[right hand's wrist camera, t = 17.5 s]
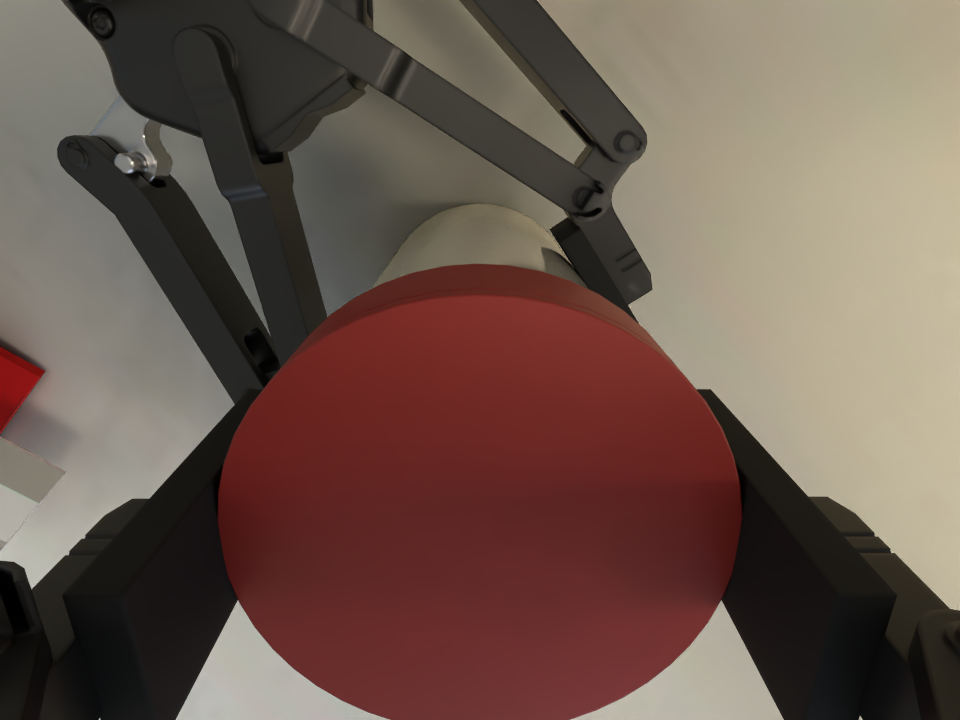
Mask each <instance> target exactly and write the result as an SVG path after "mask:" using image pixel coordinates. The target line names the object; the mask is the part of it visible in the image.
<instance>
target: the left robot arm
mask: <svg viewBox="0 0 960 720" xmlns="http://www.w3.org/2000/svg"><path fill="white" fill-rule="evenodd" d="M459 1H460V2H461V3H462V4H463V5H464V6H465V7H466V9H467V10H468V11H469V12H470V13H471V14H472V15H473V16H474V18H475V19H476V20H477V21H478V22H479V23H480V24H481V26H482V27H483V28H484V29H485V30H486V31H487V32H488V34H489V35H490V36H491V37H492V38H493V39H494V40H495V42H496V43H497V44H498V45H499V46H500V47H501V48H502V50H503V51H504V52H505V53H506V54H507V55H508V56H509V58H510V59H511V60H512V61H513V62H514V63H515V64H516V66H517V67H518V68H519V69H520V70H521V71H522V72H523V74H524V75H525V76H526V77H527V78H528V79H529V80H530V82H531V83H532V84H533V85H534V86H535V87H536V88H537V90H538V91H539V92H540V93H541V94H542V95H543V96H544V98H545V99H546V100H547V101H548V102H549V103H550V104H551V106H552V107H553V108H554V109H555V110H556V111H557V112H558V113H559V115H560V116H561V117H562V118H563V119H564V120H565V121H566V123H567V124H568V125H569V126H570V127H571V128H572V129H573V131H574V132H575V133H576V134H577V135H578V136H579V137H580V139H581V140H582V141H583V142H584V143H585V144H586V145H587V146H586V147H585V149H584V150H583V152H582V153H581V154H580V156H579V157H578V158H577V160H576V161H575V162H574V164H571V163H570V162H568V161H567V160H565V159H564V158H562V157H561V156H559V155H558V154H556V153H555V152H553V151H552V150H550V149H549V148H547V147H546V146H544V145H543V144H541V143H540V142H538V141H537V140H535V139H534V138H532V137H531V136H529V135H528V134H526V133H525V132H523V131H522V130H520V129H519V128H517V127H516V126H514V125H513V124H511V123H510V122H508V121H507V120H505V119H504V118H502V117H501V116H499V115H498V114H496V113H495V112H493V111H492V110H490V109H489V108H487V107H485V106H484V105H482V104H481V103H479V102H478V101H476V100H475V99H473V98H472V97H470V96H469V95H467V94H466V93H464V92H463V91H461V90H460V89H458V88H457V87H455V86H454V85H452V84H451V83H449V82H448V81H446V80H445V79H443V78H442V77H440V76H439V75H437V74H436V73H434V72H433V71H431V70H430V69H428V68H427V67H425V66H424V65H422V64H421V63H419V62H418V61H416V60H415V59H413V58H412V57H411V56H409V55H408V54H407V53H405V52H404V51H402V50H401V49H400V48H398V47H397V46H395V45H394V44H392V43H391V42H389V41H388V40H386V39H385V38H383V37H382V36H380V35H379V34H377V33H376V32H374V31H373V2H372V0H62V2H63V3H64V4H65V5H66V6H67V8H68V9H69V10H70V11H71V12H72V13H73V14H74V15H75V17H76V18H77V19H78V20H79V21H80V22H81V23H82V24H83V25H84V26H85V27H86V28H87V30H88V31H89V32H90V33H91V34H92V35H93V36H94V37H95V39H96V40H97V41H98V43H99V44H100V46H101V47H102V49H103V51H104V53H105V55H106V58H107V60H108V62H109V65H110V68H111V72H112V76H113V79H114V83H115V86H116V88H117V90H118V92H119V94H120V96H119V97H118V98H117V100H116V101H115V102H114V103H113V105H112V106H111V107H110V109H109V110H108V111H107V113H106V114H105V115H104V116H103V118H102V119H101V120H100V122H99V123H98V124H97V125H96V127H95V128H94V129H93V131H92V132H91V133H90V134H89V135H74V136H68V137H65V138H64V139H63V140H62V141H60V144H59V146H58V148H57V155H58V159H59V162H60V164H61V166H62V167H63V168H64V170H65V171H66V172H67V173H68V174H69V175H70V176H72V177H73V178H74V179H75V180H76V181H77V182H78V183H79V184H81V185H82V186H83V187H84V188H85V189H86V190H87V191H89V192H90V193H91V194H92V195H93V196H94V197H95V198H96V199H98V200H99V201H100V202H101V203H102V204H103V205H104V206H106V207H107V208H108V209H109V210H110V211H111V212H112V213H114V214H115V216H116V217H117V219H118V220H119V222H120V224H121V225H122V227H123V228H124V230H125V232H126V233H127V235H128V236H129V238H130V239H131V241H132V243H133V244H134V246H135V247H136V249H137V250H138V252H139V254H140V255H141V257H142V258H143V260H144V261H145V263H146V265H147V266H148V268H149V269H150V271H151V273H152V274H153V276H154V277H155V279H156V280H157V282H158V284H159V285H160V287H161V288H162V290H163V291H164V293H165V295H166V296H167V298H168V299H169V301H170V302H171V304H172V306H173V307H174V309H175V310H176V312H177V314H178V315H179V317H180V318H181V320H182V321H183V323H184V325H185V326H186V328H187V329H188V331H189V332H190V334H191V336H192V337H193V339H194V340H195V342H196V343H197V345H198V347H199V348H200V350H201V351H202V353H203V355H204V356H205V358H206V359H207V361H208V362H209V364H210V366H211V367H212V369H213V370H214V372H215V373H216V375H217V377H218V378H219V380H220V381H221V383H222V384H223V386H224V388H225V389H226V391H227V392H228V394H229V396H230V397H231V399H232V400H233V402H234V403H235V404H236V403H237V402H238V401H239V400H240V399H241V398H242V396H243V395H244V394H245V393H246V392H247V391H248V390H249V389H264V388H265V387H266V385H267V384H268V383H269V381H270V380H271V379H272V378H273V377H274V375H275V374H276V373H277V372H278V371H279V370H280V368H281V367H282V366H283V365H284V364H285V363H286V361H287V360H288V359H289V358H290V357H291V356H292V354H293V353H294V352H295V351H296V350H297V349H298V347H299V346H300V345H301V344H302V343H303V342H304V340H305V339H306V338H307V337H308V336H309V335H310V334H311V333H312V332H313V331H314V330H315V329H316V328H317V327H318V326H319V325H320V324H321V323H322V322H324V321H325V320H326V319H327V315H326V311H325V307H324V304H323V300H322V296H321V293H320V289H319V285H318V281H317V278H316V274H315V270H314V267H313V263H312V259H311V256H310V252H309V248H308V244H307V241H306V237H305V233H304V230H303V226H302V222H301V219H300V215H299V211H298V207H297V204H296V200H295V196H294V193H293V172H292V168H291V164H290V161H289V157H288V153H287V151H292V150H293V149H294V148H296V147H297V146H298V145H299V144H301V143H302V142H303V141H305V140H306V139H307V138H308V137H309V136H310V135H311V133H312V132H313V131H314V129H315V128H316V126H317V125H318V124H319V122H320V121H321V119H322V118H323V117H324V116H326V115H329V114H332V113H334V112H337V111H339V110H342V109H345V108H347V107H348V106H350V105H351V104H352V103H354V102H355V101H356V100H357V99H359V98H360V97H361V96H363V95H364V94H365V93H366V92H365V91H364V88H365V86H366V85H367V83H368V84H369V85H371V86H372V87H374V88H375V89H377V90H379V91H380V92H382V93H383V94H385V95H387V96H388V97H390V98H392V99H393V100H395V101H396V102H398V103H399V104H401V105H403V106H404V107H406V108H407V109H409V110H410V111H412V112H413V113H415V114H417V115H418V116H420V117H421V118H423V119H424V120H426V121H427V122H429V123H430V124H432V125H434V126H435V127H437V128H438V129H440V130H441V131H443V132H444V133H446V134H448V135H449V136H451V137H452V138H454V139H455V140H457V141H458V142H460V143H461V144H463V145H465V146H466V147H468V148H469V149H471V150H472V151H474V152H475V153H477V154H479V155H480V156H482V157H483V158H485V159H486V160H488V161H489V162H491V163H492V164H494V165H496V166H497V167H499V168H500V169H502V170H503V171H505V172H506V173H508V174H510V175H511V176H513V177H514V178H516V179H517V180H519V181H520V182H522V183H523V184H525V185H527V186H528V187H530V188H531V189H533V190H534V191H536V192H537V193H539V194H541V195H542V196H544V197H545V198H547V199H548V200H550V201H551V202H553V203H554V204H556V205H558V206H559V207H561V208H562V209H563V210H564V211H565V213H566V215H567V216H568V217H567V218H566V219H564V220H563V221H561V222H560V223H558V224H557V225H555V226H554V227H552V228H551V229H550V231H551V232H552V234H553V235H554V237H555V239H556V240H557V242H558V243H559V245H560V247H561V248H562V250H563V251H564V253H565V255H566V256H567V258H568V259H569V261H570V262H571V264H572V266H573V267H574V269H575V270H576V272H577V273H578V274H579V276H580V277H581V279H582V280H583V281H584V283H585V284H586V286H587V287H588V288H589V290H591V291H593V292H595V293H597V294H599V295H601V296H602V297H604V298H605V299H607V300H608V301H610V302H611V303H613V304H614V305H616V306H617V307H619V308H620V309H622V310H623V311H625V312H626V313H627V314H628V315H629V316H630V317H631V318H632V319H634V320H635V321H636V322H637V323H638V321H637V320H636V318H635V316H634V315H633V313H632V312H631V310H630V308H629V307H628V304H630V303H632V302H633V301H635V300H636V299H638V298H640V297H641V296H643V295H645V294H646V293H648V292H649V291H651V290H652V282H651V274H650V272H649V270H648V268H647V267H646V265H645V263H644V262H643V260H642V259H641V256H640V255H639V253H638V251H637V250H636V248H635V246H634V244H633V243H632V241H631V239H630V238H629V236H628V234H627V232H626V231H625V229H624V227H623V226H622V224H621V222H620V220H619V219H618V217H617V215H616V214H615V212H614V209H613V207H612V201H611V198H612V192H613V189H614V186H615V185H616V183H617V181H618V180H619V179H620V177H621V176H622V175H623V174H624V172H625V171H626V170H627V168H628V167H629V166H630V165H631V163H633V162H635V161H636V160H638V159H639V158H640V157H641V156H642V154H643V153H644V152H645V149H646V145H647V136H646V133H645V131H644V129H643V127H642V126H641V125H640V123H639V122H638V121H637V120H636V119H635V118H634V116H633V115H632V114H631V113H630V112H629V110H628V109H627V108H626V107H625V106H624V104H623V103H622V102H621V101H620V100H619V98H618V97H617V96H616V95H615V94H614V92H613V91H612V90H611V89H610V88H609V86H608V85H607V84H606V83H605V82H604V80H603V79H602V78H601V77H600V76H599V74H598V73H597V72H596V71H595V70H594V69H593V67H592V66H591V65H590V64H589V63H588V61H587V60H586V59H585V58H584V57H583V55H582V54H581V53H580V52H579V51H578V49H577V48H576V47H575V46H574V45H573V43H572V42H571V41H570V40H569V39H568V37H567V36H566V35H565V34H564V33H563V31H562V30H561V29H560V28H559V27H558V25H557V24H556V23H555V22H554V21H553V19H552V18H551V17H550V16H549V15H548V14H547V12H546V11H545V10H544V9H543V8H542V6H541V5H540V4H539V3H538V2H537V0H459ZM161 124H164V125H167V126H169V127H172V128H175V129H178V130H180V131H183V132H186V133H188V134H191V135H194V136H197V137H199V138H202V139H203V142H204V145H205V148H206V151H207V155H208V158H209V161H210V164H211V167H212V171H213V174H214V177H215V180H216V183H217V186H218V188H219V190H220V192H221V194H222V195H223V196H224V197H225V198H226V199H227V200H228V201H229V203H230V205H231V208H232V211H233V214H234V218H235V221H236V224H237V227H238V231H239V234H240V237H241V240H242V244H243V247H244V250H245V253H246V257H247V260H248V263H249V266H250V269H251V273H252V276H253V279H254V282H255V286H256V289H257V292H258V295H259V299H260V302H261V305H262V308H263V312H264V315H265V318H266V321H267V325H268V328H269V331H270V334H271V336H270V334H269V333H268V331H267V329H266V328H265V326H264V324H263V323H262V321H261V319H260V317H259V316H258V314H257V312H256V311H255V309H254V307H253V305H252V304H251V302H250V300H249V299H248V297H247V295H246V293H245V292H244V290H243V288H242V287H241V285H240V283H239V281H238V280H237V278H236V276H235V275H234V273H233V271H232V270H231V268H230V266H229V264H228V263H227V261H226V259H225V258H224V256H223V254H222V252H221V251H220V249H219V247H218V246H217V244H216V242H215V240H214V239H213V237H212V235H211V234H210V232H209V230H208V228H207V227H206V225H205V223H204V222H203V220H202V218H201V217H200V215H199V213H198V211H197V210H196V208H195V206H194V205H193V203H192V202H191V200H190V199H189V197H188V195H187V194H186V192H185V191H184V190H183V189H182V187H181V186H180V185H179V184H178V182H177V181H176V180H175V179H174V178H173V177H172V176H171V175H170V174H169V173H170V171H171V167H172V158H171V156H170V155H169V154H168V153H167V151H166V150H165V148H164V147H163V145H162V143H161V140H160V135H159V131H160V126H161ZM638 324H639V323H638ZM271 337H272V338H271Z"/></svg>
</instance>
